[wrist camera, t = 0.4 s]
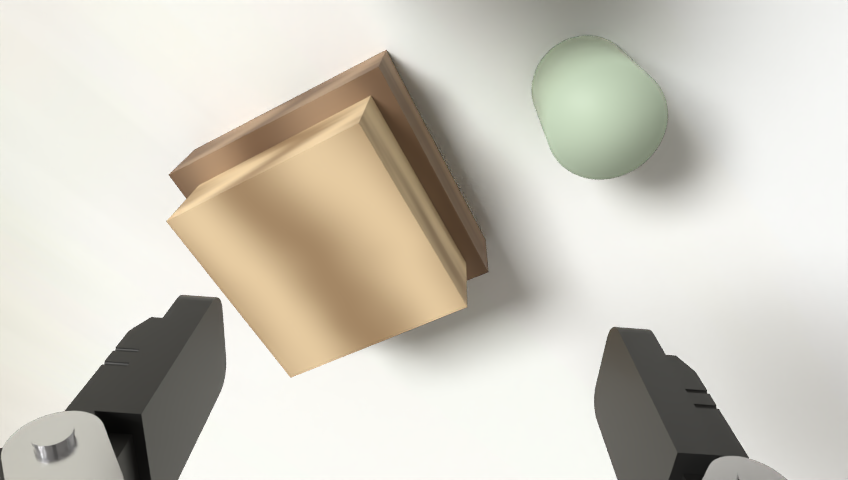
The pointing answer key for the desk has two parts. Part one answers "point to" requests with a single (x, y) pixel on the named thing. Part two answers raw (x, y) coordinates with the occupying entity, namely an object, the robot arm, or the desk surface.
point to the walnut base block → (326, 101)
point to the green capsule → (598, 108)
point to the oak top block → (326, 241)
